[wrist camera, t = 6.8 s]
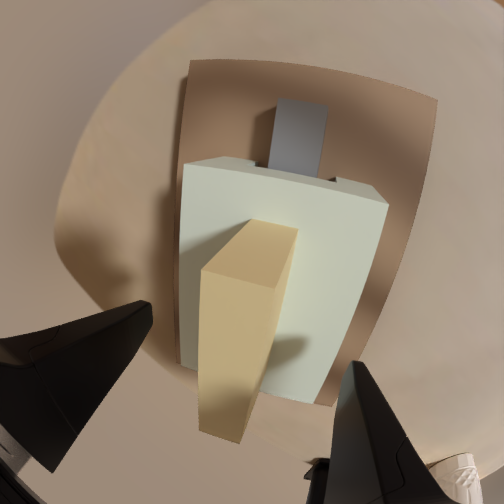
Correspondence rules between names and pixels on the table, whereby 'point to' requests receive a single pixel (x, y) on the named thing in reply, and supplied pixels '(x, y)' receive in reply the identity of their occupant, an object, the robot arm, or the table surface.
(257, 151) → the board
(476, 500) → the white cup
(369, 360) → the table surface
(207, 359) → the sage block
